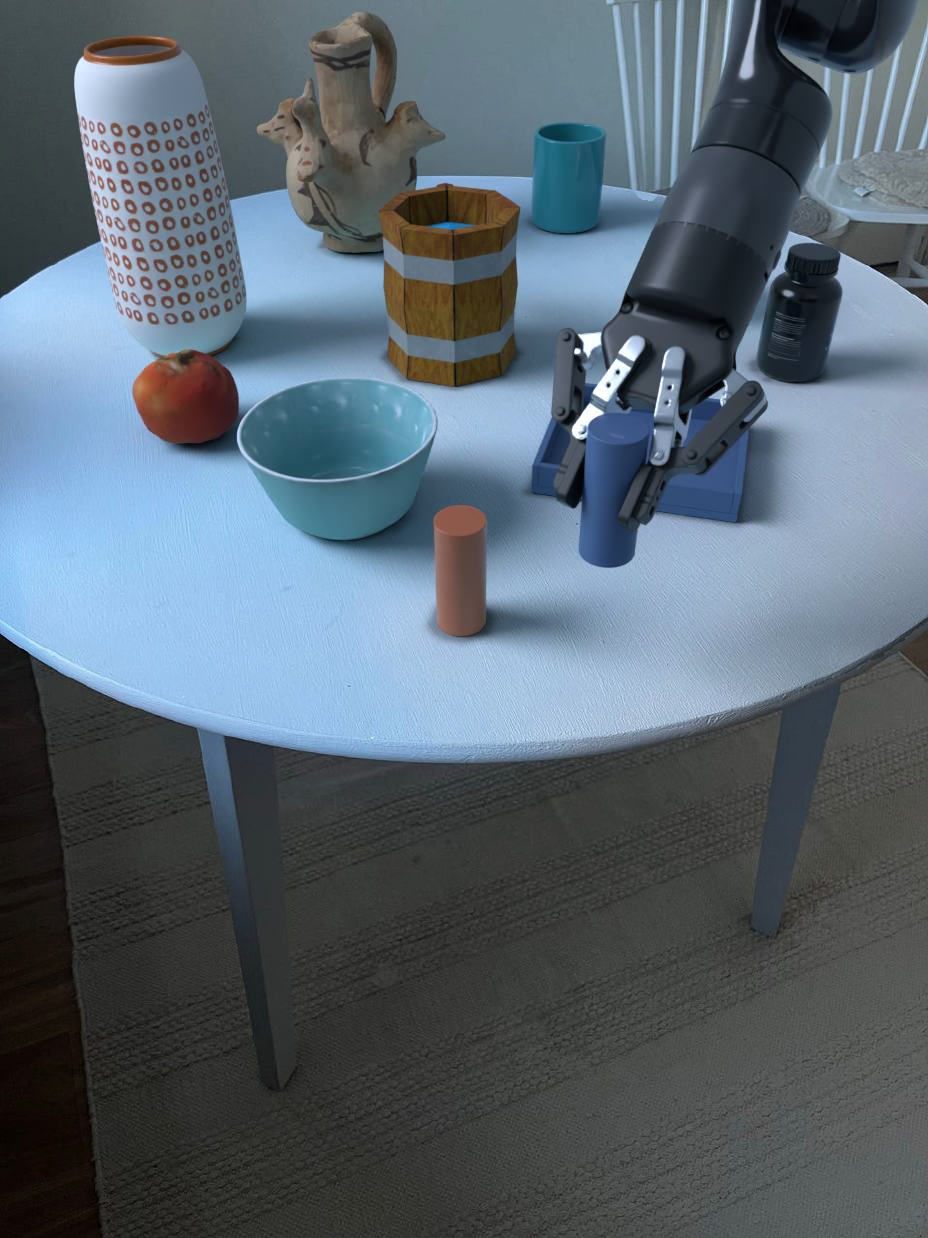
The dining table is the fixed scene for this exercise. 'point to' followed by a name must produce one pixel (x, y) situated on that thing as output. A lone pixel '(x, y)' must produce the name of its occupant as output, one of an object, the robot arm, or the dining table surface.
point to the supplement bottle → (801, 314)
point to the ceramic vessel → (349, 136)
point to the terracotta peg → (460, 569)
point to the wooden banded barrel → (450, 283)
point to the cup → (567, 176)
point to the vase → (160, 195)
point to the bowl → (340, 453)
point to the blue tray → (684, 492)
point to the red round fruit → (186, 397)
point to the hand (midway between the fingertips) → (596, 514)
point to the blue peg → (610, 487)
